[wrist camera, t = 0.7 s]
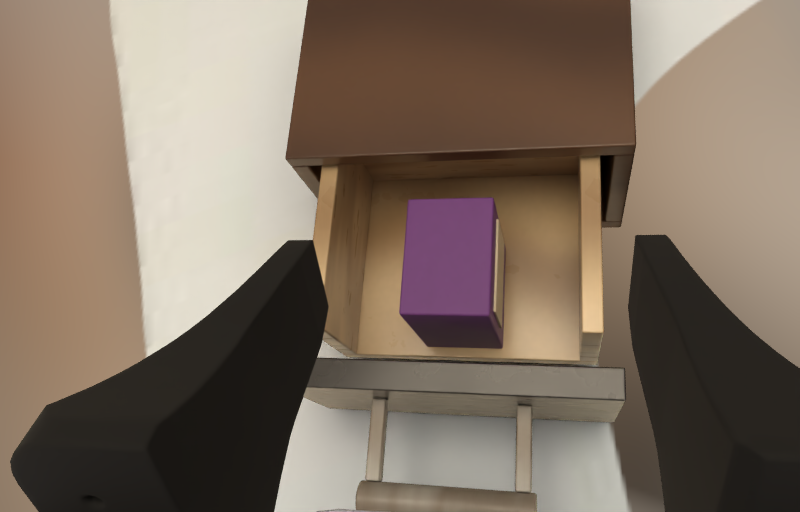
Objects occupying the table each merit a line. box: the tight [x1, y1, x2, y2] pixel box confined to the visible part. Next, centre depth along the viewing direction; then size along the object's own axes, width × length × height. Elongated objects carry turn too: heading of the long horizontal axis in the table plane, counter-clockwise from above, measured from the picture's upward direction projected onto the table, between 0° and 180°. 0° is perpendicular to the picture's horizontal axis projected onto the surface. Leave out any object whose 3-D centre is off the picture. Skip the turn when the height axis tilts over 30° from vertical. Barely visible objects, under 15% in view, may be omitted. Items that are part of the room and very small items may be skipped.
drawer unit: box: [286, 0, 636, 227], centre depth 35 cm, size 14×15×9 cm
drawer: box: [303, 155, 626, 512], centre depth 31 cm, size 17×13×7 cm
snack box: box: [399, 197, 506, 349], centre depth 31 cm, size 5×4×6 cm
